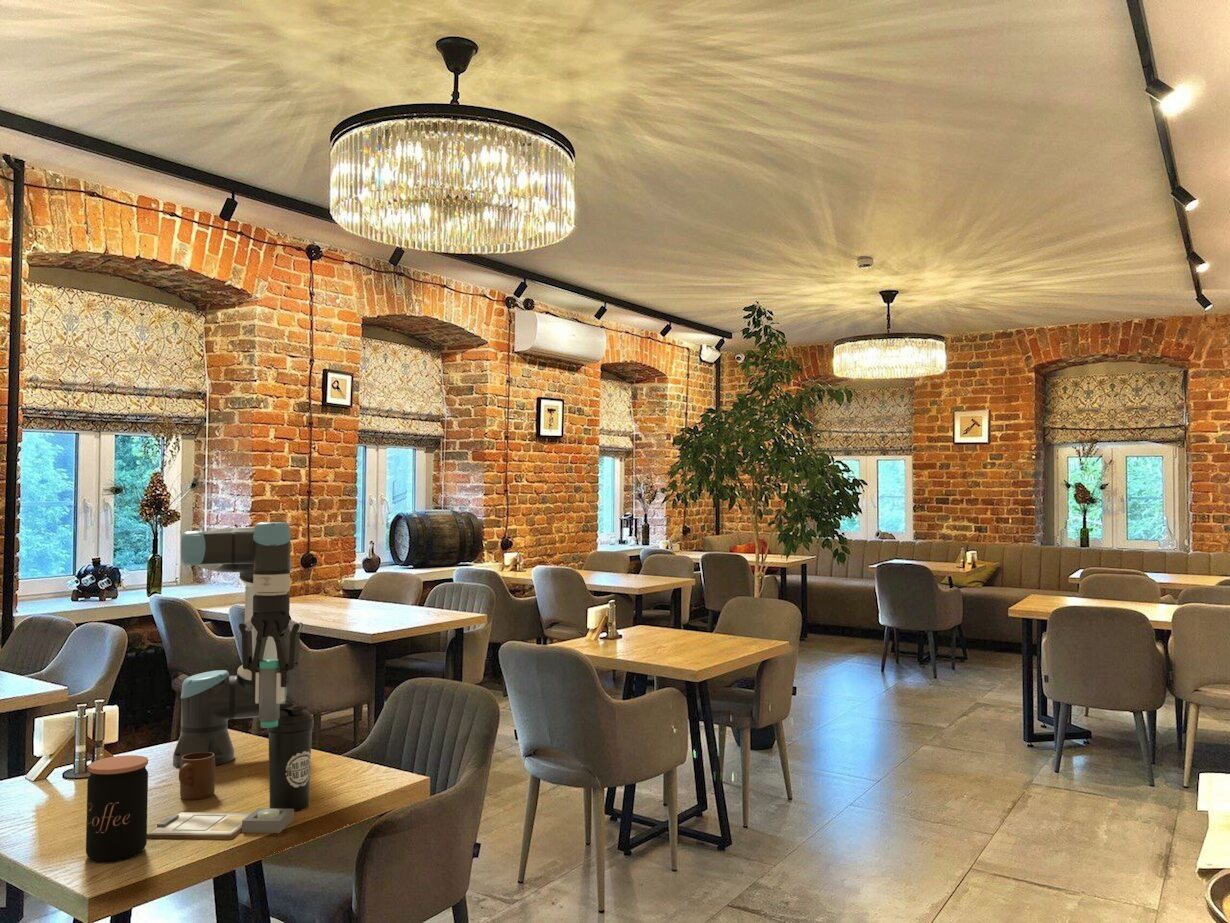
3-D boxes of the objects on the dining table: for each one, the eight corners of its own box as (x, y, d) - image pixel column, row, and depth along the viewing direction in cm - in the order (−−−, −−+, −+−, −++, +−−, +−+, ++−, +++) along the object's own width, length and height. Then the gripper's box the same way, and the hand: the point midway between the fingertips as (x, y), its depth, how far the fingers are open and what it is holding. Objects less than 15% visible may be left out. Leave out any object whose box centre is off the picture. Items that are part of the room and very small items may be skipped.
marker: (264, 723, 207) (265, 658, 207) (283, 723, 206) (283, 659, 207) (255, 728, 202) (255, 662, 203) (274, 728, 202) (275, 662, 203)
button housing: (257, 819, 208) (257, 808, 208) (293, 820, 207) (293, 808, 207) (241, 832, 200) (241, 820, 200) (279, 833, 199) (279, 821, 199)
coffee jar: (72, 862, 183) (74, 768, 184) (111, 842, 194) (113, 753, 195) (121, 866, 181) (123, 771, 182) (158, 846, 192) (160, 756, 193)
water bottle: (282, 817, 209) (284, 712, 210) (256, 808, 216) (258, 706, 216) (321, 805, 217) (323, 704, 218) (295, 797, 224) (296, 698, 225)
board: (179, 815, 210) (179, 808, 211) (259, 816, 210) (259, 809, 210) (145, 838, 196) (146, 830, 197) (230, 839, 196) (231, 831, 196)
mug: (196, 807, 216) (197, 765, 217) (164, 806, 217) (164, 765, 217) (220, 791, 228) (221, 751, 229) (189, 790, 229) (190, 751, 229)
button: (262, 822, 206) (262, 808, 206) (282, 823, 206) (282, 809, 206) (253, 829, 201) (254, 815, 201) (274, 830, 201) (274, 815, 201)
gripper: (225, 594, 202) (223, 705, 201) (303, 595, 201) (301, 706, 201) (240, 591, 210) (239, 698, 209) (316, 591, 209) (314, 698, 208)
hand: (269, 701), depth 205 cm, fingers closed on marker, 4 cm apart
